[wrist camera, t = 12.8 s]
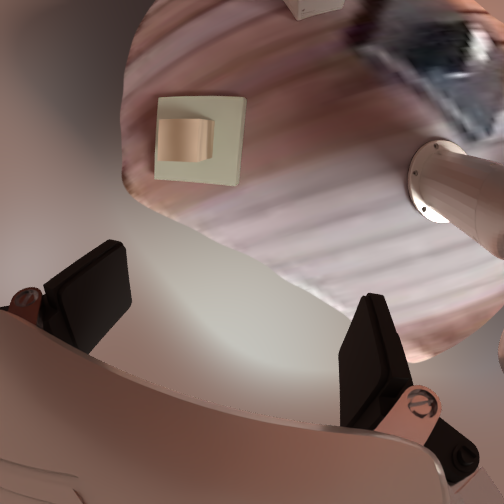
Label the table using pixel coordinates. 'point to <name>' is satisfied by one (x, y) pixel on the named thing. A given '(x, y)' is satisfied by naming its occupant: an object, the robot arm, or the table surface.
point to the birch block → (185, 140)
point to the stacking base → (224, 143)
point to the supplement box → (312, 7)
